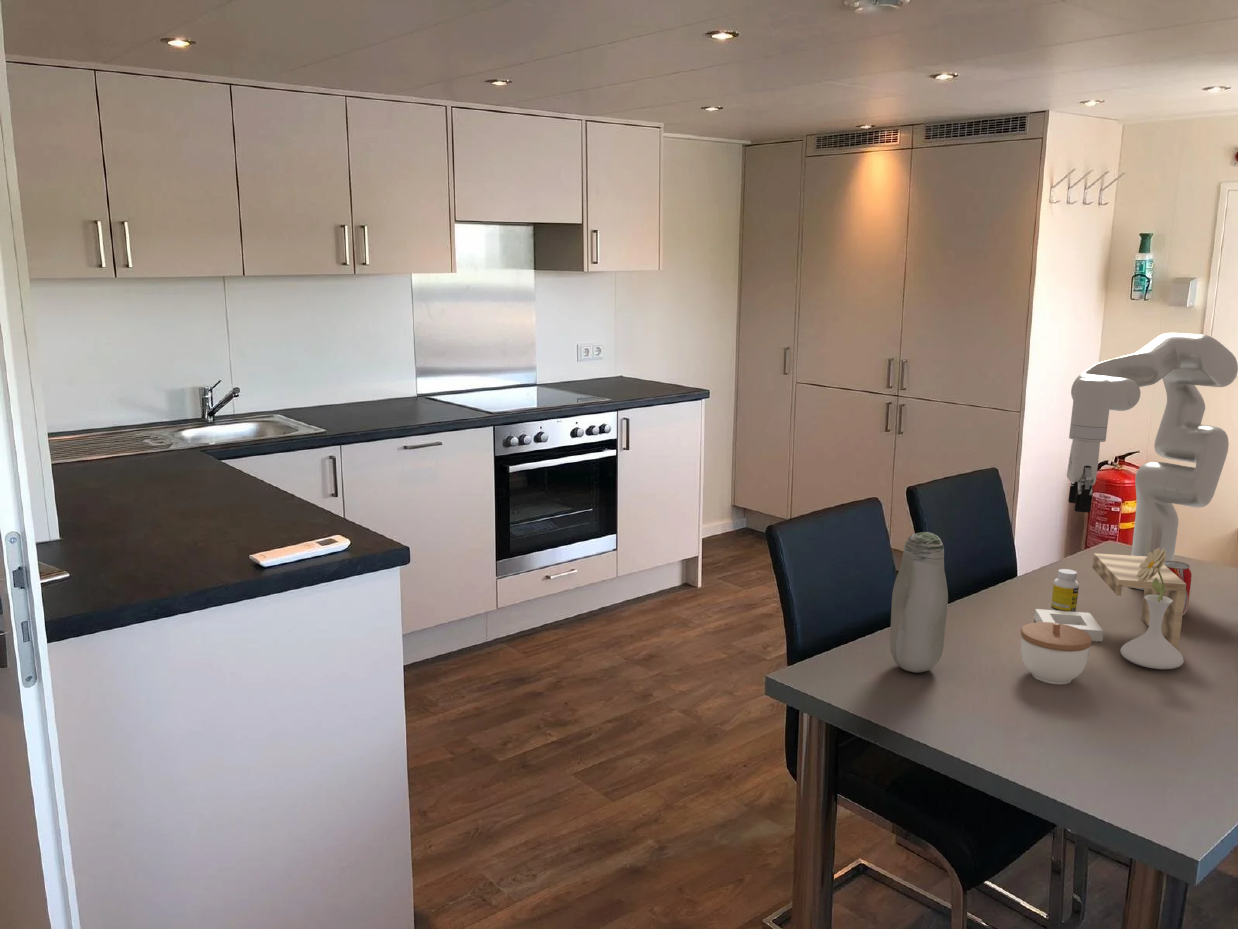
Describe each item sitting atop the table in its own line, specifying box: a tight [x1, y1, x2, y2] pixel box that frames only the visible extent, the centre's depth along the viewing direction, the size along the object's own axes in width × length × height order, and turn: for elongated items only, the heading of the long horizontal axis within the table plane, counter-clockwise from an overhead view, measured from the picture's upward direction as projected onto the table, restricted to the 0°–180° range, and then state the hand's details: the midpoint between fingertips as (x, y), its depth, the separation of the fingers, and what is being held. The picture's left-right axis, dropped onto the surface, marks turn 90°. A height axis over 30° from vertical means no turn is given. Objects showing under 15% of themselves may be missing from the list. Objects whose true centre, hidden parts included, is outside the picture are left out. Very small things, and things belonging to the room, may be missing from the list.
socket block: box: [1034, 608, 1104, 643], centre depth 218 cm, size 12×12×2 cm
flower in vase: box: [1120, 548, 1185, 670], centre depth 197 cm, size 13×11×25 cm
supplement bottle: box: [1050, 568, 1080, 612], centre depth 229 cm, size 5×5×10 cm
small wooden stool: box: [1091, 553, 1186, 651], centre depth 216 cm, size 20×13×15 cm, turn 168°
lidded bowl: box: [1020, 621, 1093, 685], centre depth 192 cm, size 13×13×11 cm
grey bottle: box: [889, 531, 949, 673], centre depth 193 cm, size 10×10×28 cm
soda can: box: [1164, 560, 1192, 616], centre depth 228 cm, size 7×7×12 cm
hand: (1078, 507), depth 224 cm, fingers open, 9 cm apart
